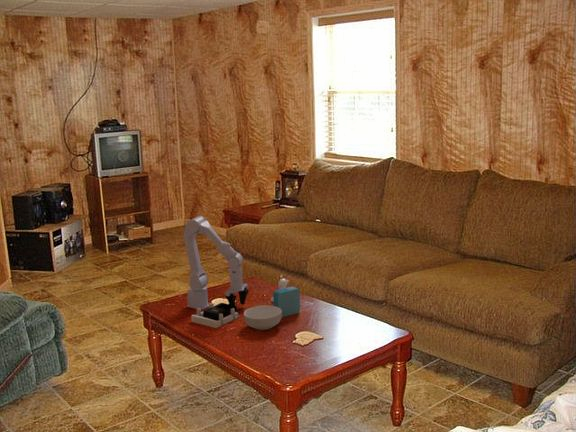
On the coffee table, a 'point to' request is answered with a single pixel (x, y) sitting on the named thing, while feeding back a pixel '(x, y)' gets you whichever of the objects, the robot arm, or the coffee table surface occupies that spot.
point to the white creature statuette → (281, 285)
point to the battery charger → (218, 311)
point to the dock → (213, 323)
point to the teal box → (287, 300)
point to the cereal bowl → (263, 316)
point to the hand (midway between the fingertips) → (237, 306)
